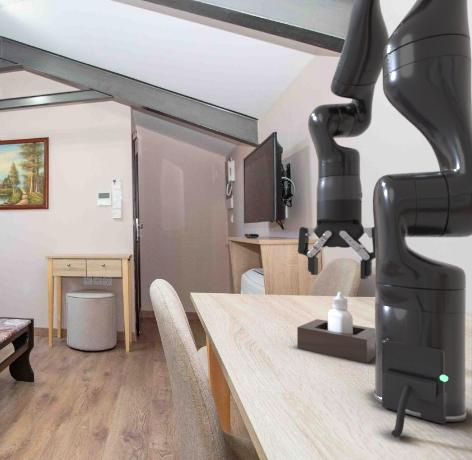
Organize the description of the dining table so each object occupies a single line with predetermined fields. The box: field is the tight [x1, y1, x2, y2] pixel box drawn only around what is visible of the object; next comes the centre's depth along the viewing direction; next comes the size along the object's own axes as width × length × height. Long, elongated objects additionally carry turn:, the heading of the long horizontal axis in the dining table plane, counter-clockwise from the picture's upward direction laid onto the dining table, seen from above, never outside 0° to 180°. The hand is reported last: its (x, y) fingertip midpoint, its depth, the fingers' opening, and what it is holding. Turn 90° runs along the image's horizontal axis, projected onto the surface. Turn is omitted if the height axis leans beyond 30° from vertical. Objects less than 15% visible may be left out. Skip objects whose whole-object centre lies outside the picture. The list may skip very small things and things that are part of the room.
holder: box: [296, 318, 375, 364], centre depth 79 cm, size 12×12×4 cm
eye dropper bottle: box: [327, 291, 354, 335], centre depth 79 cm, size 4×6×12 cm
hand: (338, 276), depth 79 cm, fingers open, 8 cm apart
